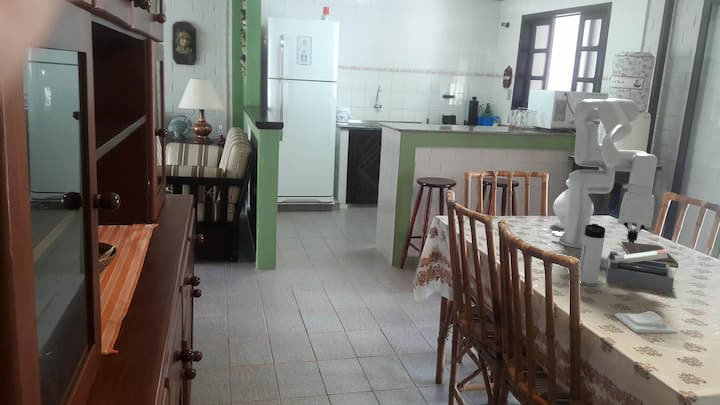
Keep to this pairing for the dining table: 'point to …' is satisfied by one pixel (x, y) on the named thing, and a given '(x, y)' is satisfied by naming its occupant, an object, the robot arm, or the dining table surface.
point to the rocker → (642, 256)
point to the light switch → (645, 322)
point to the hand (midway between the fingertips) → (631, 241)
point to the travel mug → (591, 254)
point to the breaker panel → (640, 273)
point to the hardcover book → (639, 248)
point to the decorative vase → (563, 207)
